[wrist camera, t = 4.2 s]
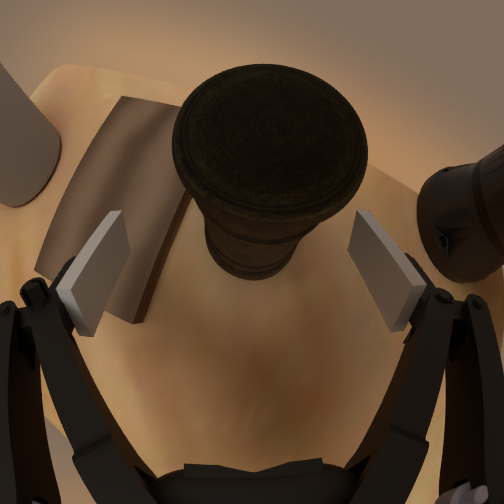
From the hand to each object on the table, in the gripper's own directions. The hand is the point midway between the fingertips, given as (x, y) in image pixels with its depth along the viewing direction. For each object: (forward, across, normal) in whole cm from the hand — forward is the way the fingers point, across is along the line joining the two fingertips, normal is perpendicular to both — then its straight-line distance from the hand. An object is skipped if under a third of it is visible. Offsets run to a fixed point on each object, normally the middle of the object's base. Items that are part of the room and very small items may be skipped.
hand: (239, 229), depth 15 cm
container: (+11, +1, -7) cm, 13 cm away
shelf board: (+14, -12, -4) cm, 18 cm away
